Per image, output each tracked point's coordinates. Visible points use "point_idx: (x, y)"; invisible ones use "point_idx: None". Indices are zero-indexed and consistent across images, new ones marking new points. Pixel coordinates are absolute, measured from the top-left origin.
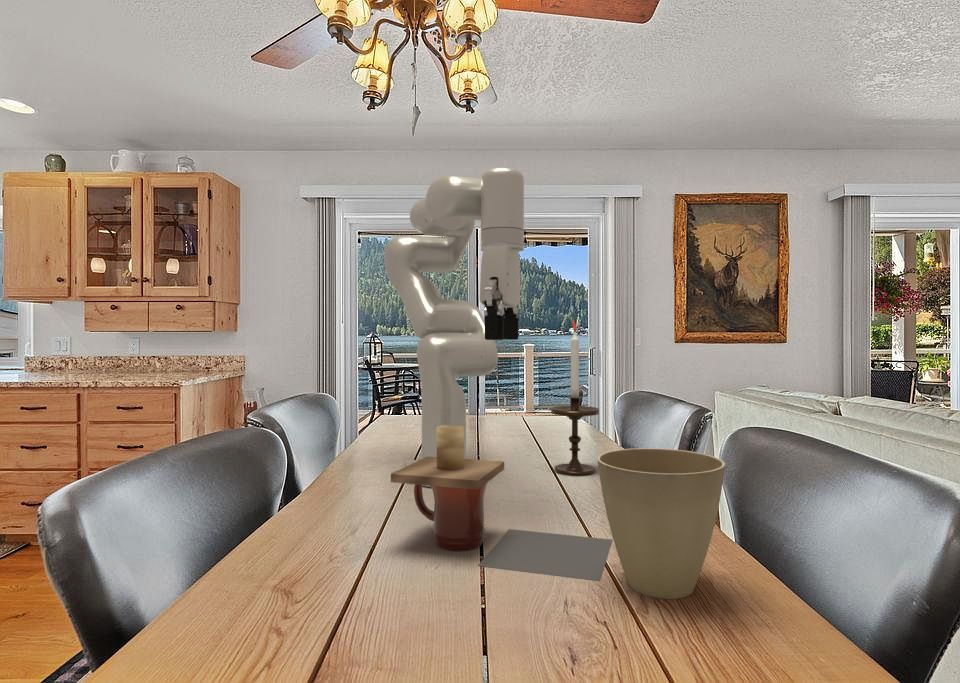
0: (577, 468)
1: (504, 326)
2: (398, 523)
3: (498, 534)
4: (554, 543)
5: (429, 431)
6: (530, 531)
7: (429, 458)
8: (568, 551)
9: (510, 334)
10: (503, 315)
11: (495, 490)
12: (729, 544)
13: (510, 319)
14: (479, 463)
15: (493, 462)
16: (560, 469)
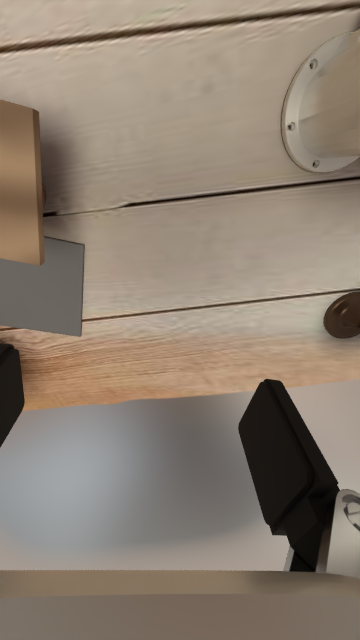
0: (342, 320)
1: (278, 441)
2: (79, 71)
3: (74, 233)
4: (52, 291)
5: None
6: (81, 268)
7: (14, 119)
8: (35, 302)
9: (251, 425)
10: (331, 509)
11: (263, 214)
12: (102, 402)
13: (278, 502)
14: (10, 228)
15: (26, 250)
16: (350, 300)
